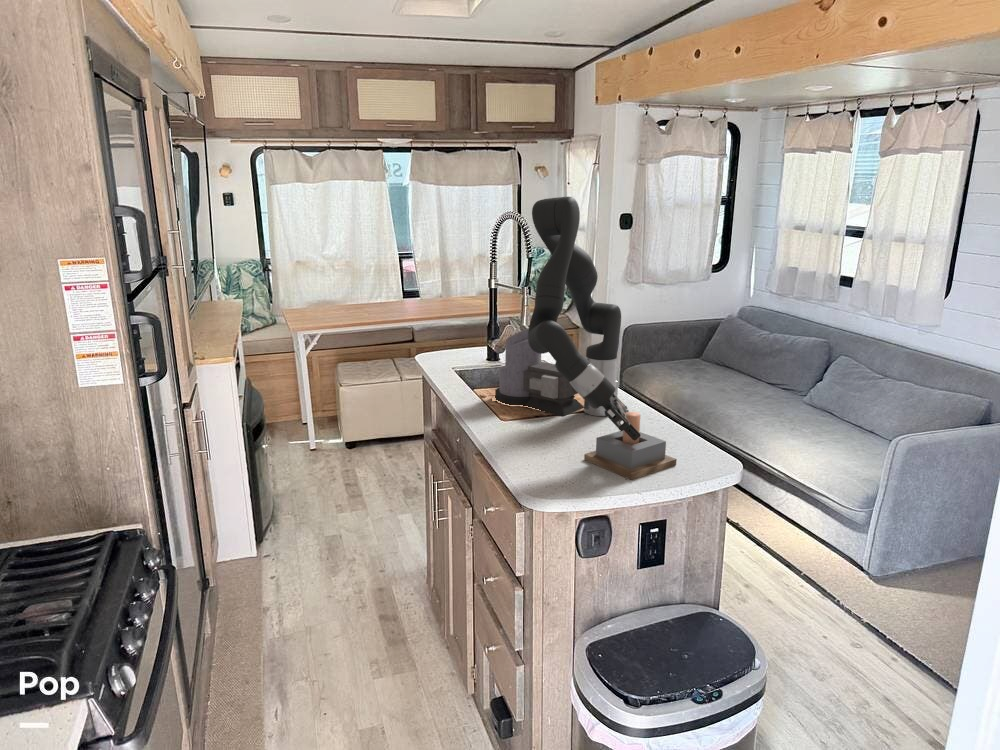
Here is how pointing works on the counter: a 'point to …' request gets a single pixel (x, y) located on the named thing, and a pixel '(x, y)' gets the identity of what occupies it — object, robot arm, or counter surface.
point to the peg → (635, 422)
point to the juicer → (533, 380)
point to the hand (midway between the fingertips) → (637, 432)
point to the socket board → (626, 471)
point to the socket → (630, 449)
